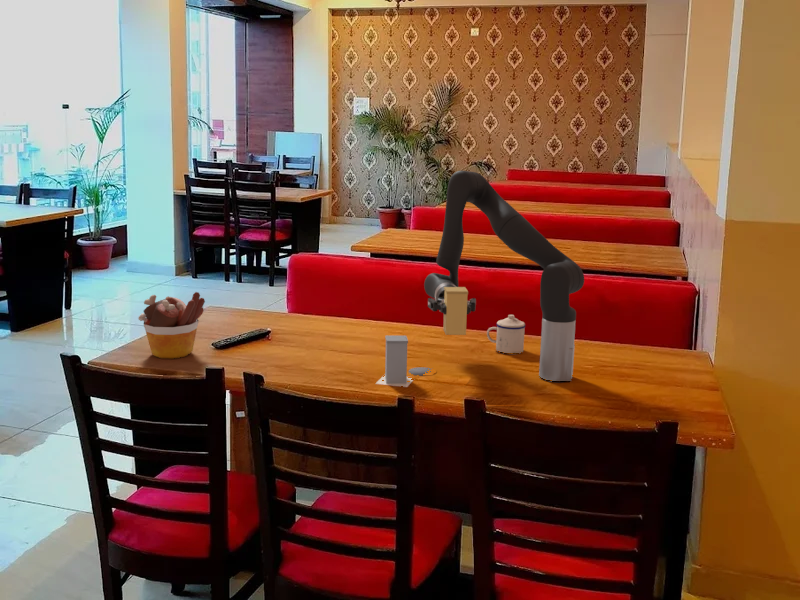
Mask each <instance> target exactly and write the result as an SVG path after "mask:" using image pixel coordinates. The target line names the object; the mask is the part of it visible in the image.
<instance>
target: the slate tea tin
mask: <svg viewBox="0 0 800 600" xmlns="http://www.w3.org/2000/svg"><path fill="white" fill-rule="evenodd" d="M384 336H385V337H384V339H385V361H384V362H385V365H384V366H385V367H384V369H385V371H384V372H385V373H384V375H385V379H386V384H406V380H407V377H408V376H407V375H408V374H407V372H408V370H407V369H408V344H409V339H408V337H407V335H384Z"/></svg>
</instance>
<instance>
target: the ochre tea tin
mask: <svg viewBox="0 0 800 600" xmlns="http://www.w3.org/2000/svg"><path fill="white" fill-rule="evenodd" d="M444 290H445V294H444V303H445V305H446V306H447V313H446V314H443V323H442V324H443V328H442V329H443V332H444V334H445V336H448V335H449V336H466V335H467V315H468V314H467V301H468V295H469V291H468V289H467V288H466V286H458V287H444Z"/></svg>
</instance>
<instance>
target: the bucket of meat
mask: <svg viewBox="0 0 800 600" xmlns="http://www.w3.org/2000/svg"><path fill="white" fill-rule="evenodd" d="M156 299H157V295H156V294H152V295H150V296H149V298H147V299H145V300H144V301H143V304H144V305H146V308H144V309H143V313H140V315H139V316H138V317H137V319H138V321H140V322H143V328H144V330H145V333H146V338H147V340H148V341H147V342H148V345H149V347H150V348H149V349H150V351H151V354H152V355H153V357H156V358H159V359H161V360H162V359H163V360H164V359H166V360H168V359H169V360H170V359H172V360H173V359H174V358H175V359H180V357H181V358H185V357H187V356H188V354H189V355H190V354H191V353H192V352H193V350H194V346H195V342H196V335H197V330H198V325H199V318H200V317H201V316H202V315H203V313H204V311H205V309H204V305H205V302H206V301H205V300H206V299H205V298H204V297H201V295H200V292H197V291H195V292H193V295H192V298H191V300H189V301H188V302H187V304H186V303H185V302H184V301H182V300H181V299H180V298H177V297H173V296H166V297H165V298H164V299H160V300H158V301H156ZM175 359H174V360H175Z"/></svg>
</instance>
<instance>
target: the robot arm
mask: <svg viewBox="0 0 800 600" xmlns="http://www.w3.org/2000/svg"><path fill="white" fill-rule="evenodd" d="M467 203H470V204H472V205H474V206H475V207H476V208H478V209H479V210H480V211H481V212H482V213H483V214H484V215H485V216H486V218H488V221H489V223H490V226H491V228H492V231H493V232H494V234H495V235H496V236H497V238H499V240H501V242H503V244H505V246H507V247H508V248H509V249H510V250H511V251H513V252H514V253H516V254H518V255H520V256H522V257H524V258H526V259H528V260H530V261H532V262H534V263H535V264H537V265H539V266H540V267H541V268H542V269H543V270H542V273H541V277H540V282H539V283H540V285H539V287H540V288H539V290H540V292H539V295H540V296H539V297H540V298H539V302H540V303H539V304H540V308H541V313H542V319H541V333H540V336H541V337H540V351H539V352H540V353H539V368H538V371H539V372H538V376H540V377H541V378H543V379H546V380H552V381H571V382H572V380H571V379H573V376H572V375H573V373H574V359H575V358H574V357H575V338H576V337H575V334H576V322H577V321H576V320H577V311H576V309H575V308H573V307H572V306H570V305H571V304H570V295H571V294H574V293H576V292H579V291H580V290H581V289H582V288H583V287H584V284H585V275H584V272H583V269H582V268H581V267H580V266H579V264H577V263H576V262H575V261H574V260H572V258H570V257H568V256H567V255H566V254H565V253H563V252H562V251H561V250H559V249H558V248H556V246H554V245H553V244H552V243H551V242H550V241H549V240H548V239H547V238H546V237H545V236H544V235H543V234H542V233H541V232H539V231H538V230H537V228H536V227H535V226H533V225H532V224H531V223H530V222H529V220H527V219H526V217H524V216H523V215H522V214H521V213H520V212H518V211H517V210H516V209H515V208H514V207H513V206H512V205H511V204H510V203H509V202H507V201H506V200H505V199H504V198H503V197H502V196H501V195H500V194H499V193H498V192H497V191H496V189H495V188H494V187H493V186H492V185H491V183H490V182H488V180H487V179H486V178H485V177H484V176H483V175H482V174H480V173H478V172H477V171H469V170H457V171H455V172H454V173H452V174H451V176H450V177H449V181H448V185H447V192H446V201H445V210H444V211H445V213H444V223H443V230H442V234H441V235H442V236H441V239H440V243H439V244H440V245H439V248H438V253H437V256H436V261H435V263H436V264H437V265H438V266H439V267H440V268H442V269H445V270H446V271H448V272H449V275H447V274H441V273H436V272H432V273H429V274H428V275H427V276H426V278H425V279H424V283H423V286H424V287H423V288H424V292H425V294H426V295H427V296H429V298H427V307H428V308H429V309H430V310H431V311H432V312H438V311H439V312H440V313H441V314H442V313H443V315H444V314H446V313H447V306H446V305H445V303H444V294H445V290H444V287H459V266H460V265H459V264H460V260H461V257H462V252H463V250H464V243H465V236H464V229H463V227H464V226H463V216H464V211H465V209H466V208H465V207H466V205H467ZM476 305H477V299H476V298H475V297H473V298H470V299H469V300H467V315H469V314H471V312H473V313H474V312H476ZM540 377H539V378H540ZM541 378H540V379H541ZM543 379H542V380H543ZM546 380H545V381H546ZM552 381H551V382H552Z"/></svg>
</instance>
